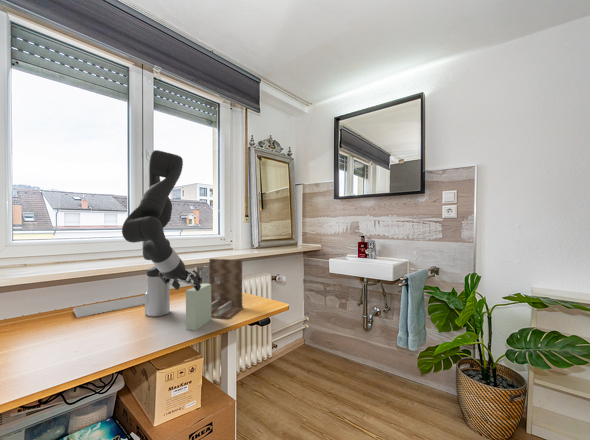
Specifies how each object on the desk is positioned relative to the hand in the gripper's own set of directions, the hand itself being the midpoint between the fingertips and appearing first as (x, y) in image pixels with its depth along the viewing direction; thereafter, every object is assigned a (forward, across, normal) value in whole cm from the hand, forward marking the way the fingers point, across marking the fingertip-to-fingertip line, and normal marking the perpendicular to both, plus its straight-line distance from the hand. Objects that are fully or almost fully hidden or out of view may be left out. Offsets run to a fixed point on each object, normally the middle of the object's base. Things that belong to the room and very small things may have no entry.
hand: (188, 288), depth 107 cm
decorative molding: (+26, +51, -2) cm, 57 cm away
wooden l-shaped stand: (+28, -1, -5) cm, 28 cm away
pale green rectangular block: (+17, 0, +6) cm, 18 cm away
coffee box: (+44, +20, -20) cm, 52 cm away
